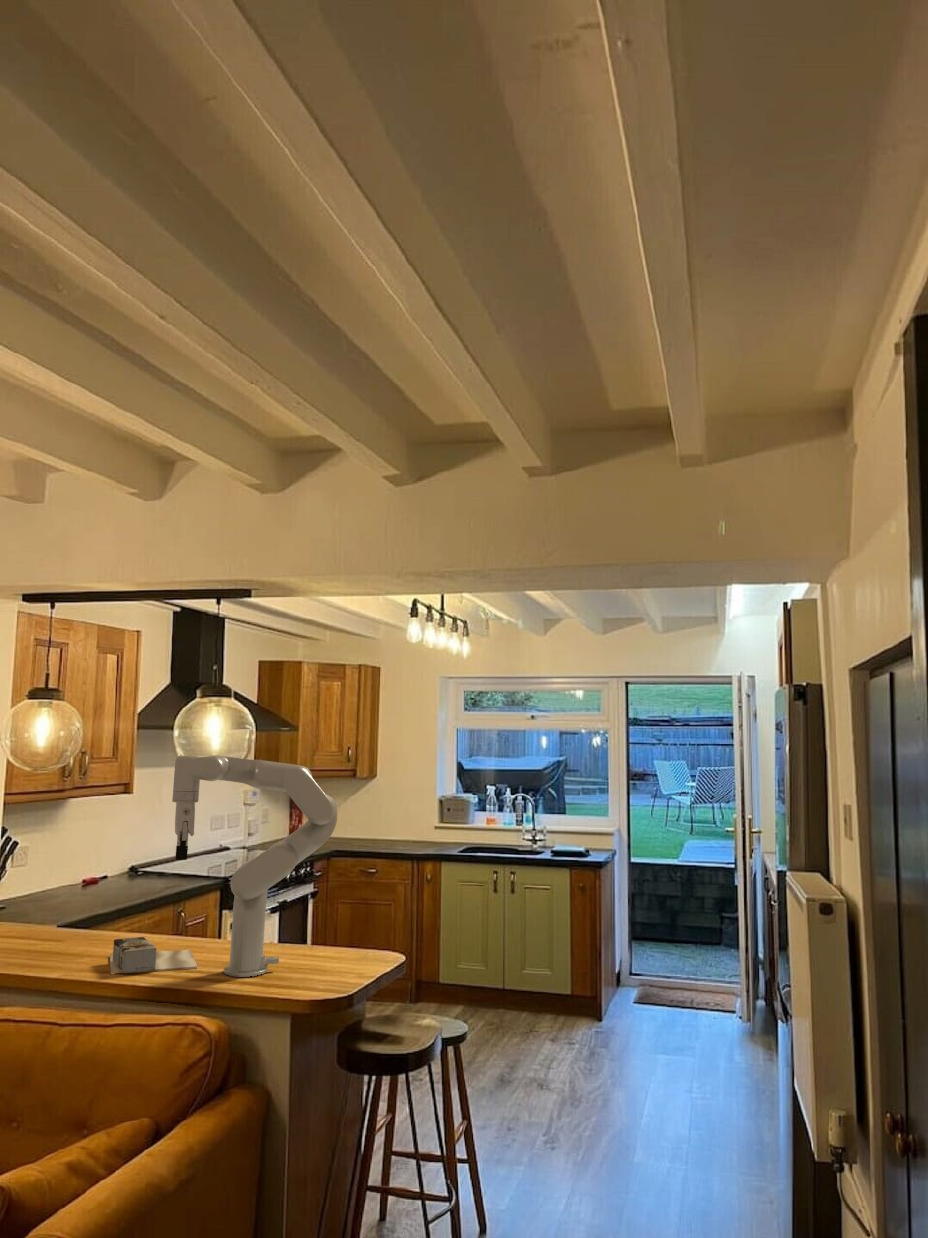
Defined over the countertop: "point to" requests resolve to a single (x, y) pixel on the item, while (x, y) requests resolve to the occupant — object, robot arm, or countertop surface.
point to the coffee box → (134, 954)
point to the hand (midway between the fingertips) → (181, 859)
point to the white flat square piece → (166, 961)
